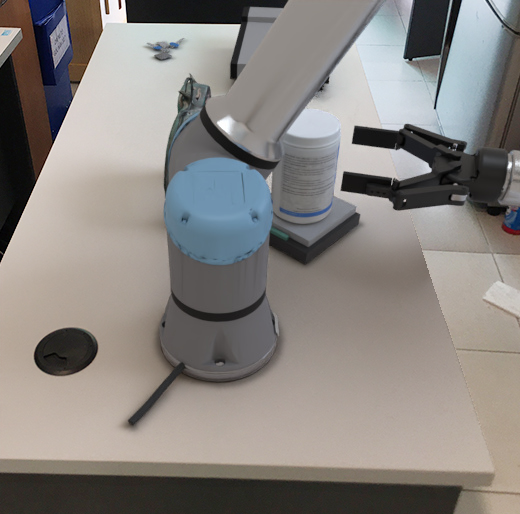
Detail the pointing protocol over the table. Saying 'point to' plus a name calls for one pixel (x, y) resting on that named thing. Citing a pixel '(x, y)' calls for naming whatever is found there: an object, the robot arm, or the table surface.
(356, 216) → the scale
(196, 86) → the camouflage fabric bag
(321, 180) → the supplement tub
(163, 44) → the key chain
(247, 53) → the game console
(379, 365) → the table surface
